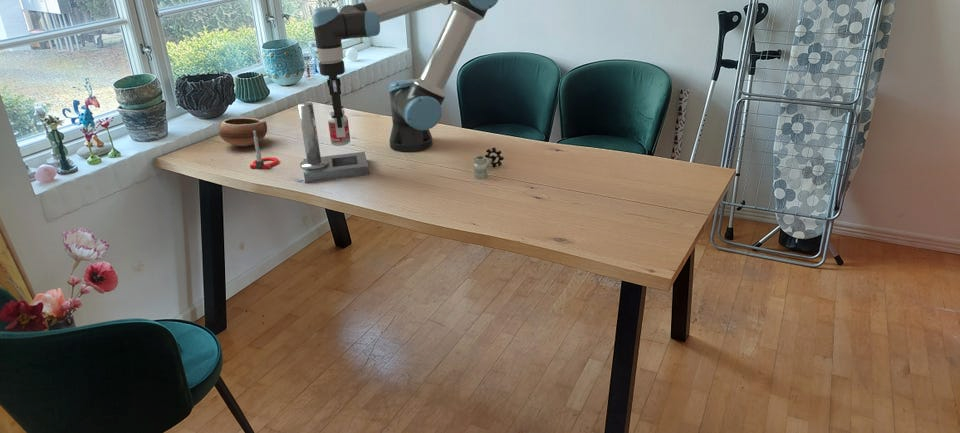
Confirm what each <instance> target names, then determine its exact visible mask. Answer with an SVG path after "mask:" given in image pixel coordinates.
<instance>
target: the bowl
mask: <svg viewBox="0 0 960 433" xmlns="http://www.w3.org/2000/svg"><path fill="white" fill-rule="evenodd" d="M253 131H256V135H257V138H258V143H259V142H261V141H262V140H263V139H264V138H265V136H266V135H267V133H268V125H267V121H266V120H261V119H258V118H251V117H235V118H234V117H233V118H227V119H224V120H223V121H222V122H221V125H220V128H219V137H220V138H221V139H222V140H223V141H224V142H226V143H227V144H230V145H232V146H237V147H250V146H253V145H255V143H254V132H253Z"/></svg>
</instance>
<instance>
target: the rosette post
mask: <svg viewBox="0 0 960 433" xmlns="http://www.w3.org/2000/svg"><path fill="white" fill-rule="evenodd" d="M297 107H298V113H299V118H300V125H301V131H302V138H303V144H304V145H303V146H304V149H305V151H304V152H305V156H306V158H303V160H302V161H301V162H300V164H299V166H300V168H301V169H302V170H303V179H304V183H307V184H308V183H314V182H315V183H316V182H322V181H331V180H338V179H345V178H346V179H347V178H354V177H361V176H362V177H363V176H370V170H369V163H368V160H367V156H366V153H365V152H366V151H359V152H351V153H349V152H348V153H343V154H342V153H341V154H336V155H334V154H332V155H324V156H321V150H320V143H319V137H318V136H319V135H318V131H317V122H316V117H315V110H314V103H313V102H310V101H306V102H301V103H298V104H297Z"/></svg>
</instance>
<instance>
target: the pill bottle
mask: <svg viewBox="0 0 960 433" xmlns="http://www.w3.org/2000/svg"><path fill="white" fill-rule="evenodd" d="M328 112H329V117H328V119H327V122H328V130H329V138H330V144H331V145H332V146H337V147H340V146H341V147H343V146H346V145H349V144H350V142H351V135H350V127H349V119H348V115H346V114H345V113H346V112H345V108H344V107H343V108H342V114H343V120H344V128H345V136H346V137H339V138H337V135H336V128H335V120H334V118H332V116H334V109H333V107H332V108H330V109H329V110H328Z"/></svg>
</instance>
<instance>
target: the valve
mask: <svg viewBox="0 0 960 433" xmlns="http://www.w3.org/2000/svg"><path fill="white" fill-rule="evenodd" d="M485 151H486V153H487V154H485V155H477V156H475V157H474V158H473V163H474V164H473V170H474V178H475V179H476V180H485V179H486V178H487V177H488V169H489V168H490V166H492V168H493V169H494V168H496V167H497V166H498V167H501V166H502V165H503V163H502V162H501V161H504V160H505V158H504V156H501V154H502V151H501V150H498V151H497V148H496V147H495V146H494V147H492V148H491V149H490V148H488V149H486V150H485ZM491 154H492V155H491ZM497 159H498V160H497Z"/></svg>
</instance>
